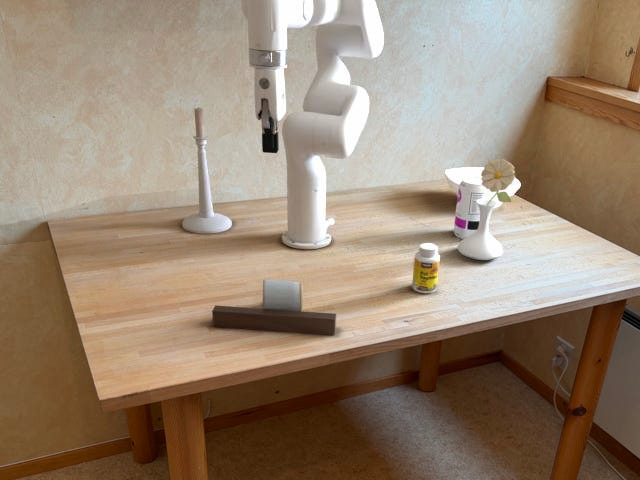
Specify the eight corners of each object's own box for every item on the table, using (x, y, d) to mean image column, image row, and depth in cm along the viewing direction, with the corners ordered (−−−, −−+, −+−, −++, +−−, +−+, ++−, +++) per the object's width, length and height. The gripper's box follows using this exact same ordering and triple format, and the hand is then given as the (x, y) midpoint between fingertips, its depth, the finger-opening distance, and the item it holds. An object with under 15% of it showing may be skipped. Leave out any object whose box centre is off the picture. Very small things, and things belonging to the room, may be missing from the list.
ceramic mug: (303, 323, 138) (303, 288, 134) (262, 324, 137) (261, 288, 133) (301, 300, 147) (301, 267, 143) (262, 301, 146) (261, 267, 142)
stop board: (216, 320, 137) (215, 305, 136) (335, 329, 137) (336, 313, 135) (213, 326, 135) (212, 311, 133) (334, 335, 135) (335, 319, 133)
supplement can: (449, 237, 183) (456, 182, 175) (458, 228, 189) (464, 174, 182) (479, 243, 180) (487, 187, 173) (487, 233, 187) (494, 178, 179)
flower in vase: (447, 252, 174) (458, 152, 161) (479, 243, 180) (492, 146, 167) (484, 270, 165) (499, 166, 152) (516, 260, 172) (533, 160, 159)
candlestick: (172, 224, 182) (160, 105, 166) (211, 213, 190) (203, 99, 175) (202, 237, 175) (192, 115, 159) (241, 225, 183) (235, 108, 168)
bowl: (434, 195, 213) (437, 167, 209) (496, 193, 218) (500, 166, 214) (457, 218, 196) (461, 188, 192) (524, 215, 201) (529, 186, 196)
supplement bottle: (415, 295, 152) (419, 251, 147) (409, 284, 156) (412, 242, 151) (439, 293, 153) (444, 250, 148) (432, 283, 158) (436, 241, 152)
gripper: (280, 65, 130) (282, 162, 140) (292, 54, 143) (293, 144, 152) (241, 63, 130) (245, 160, 140) (256, 52, 143) (259, 142, 153)
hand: (270, 151), depth 146 cm, fingers closed
